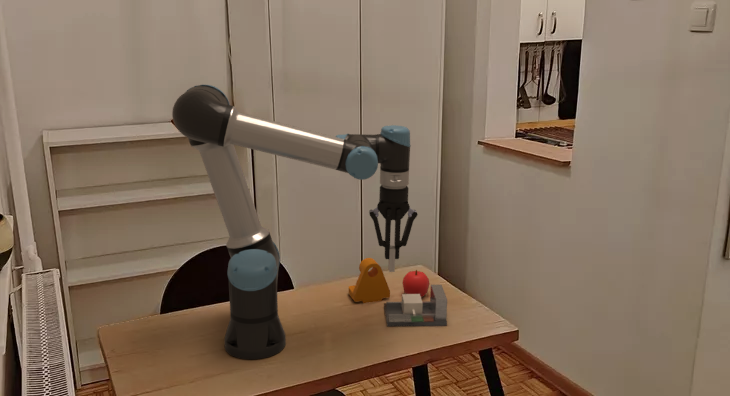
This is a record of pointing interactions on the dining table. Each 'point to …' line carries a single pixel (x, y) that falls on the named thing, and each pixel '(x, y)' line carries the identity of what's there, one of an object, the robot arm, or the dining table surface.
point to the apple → (416, 283)
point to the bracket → (369, 283)
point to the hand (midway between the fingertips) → (391, 269)
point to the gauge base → (431, 311)
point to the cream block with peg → (412, 304)
